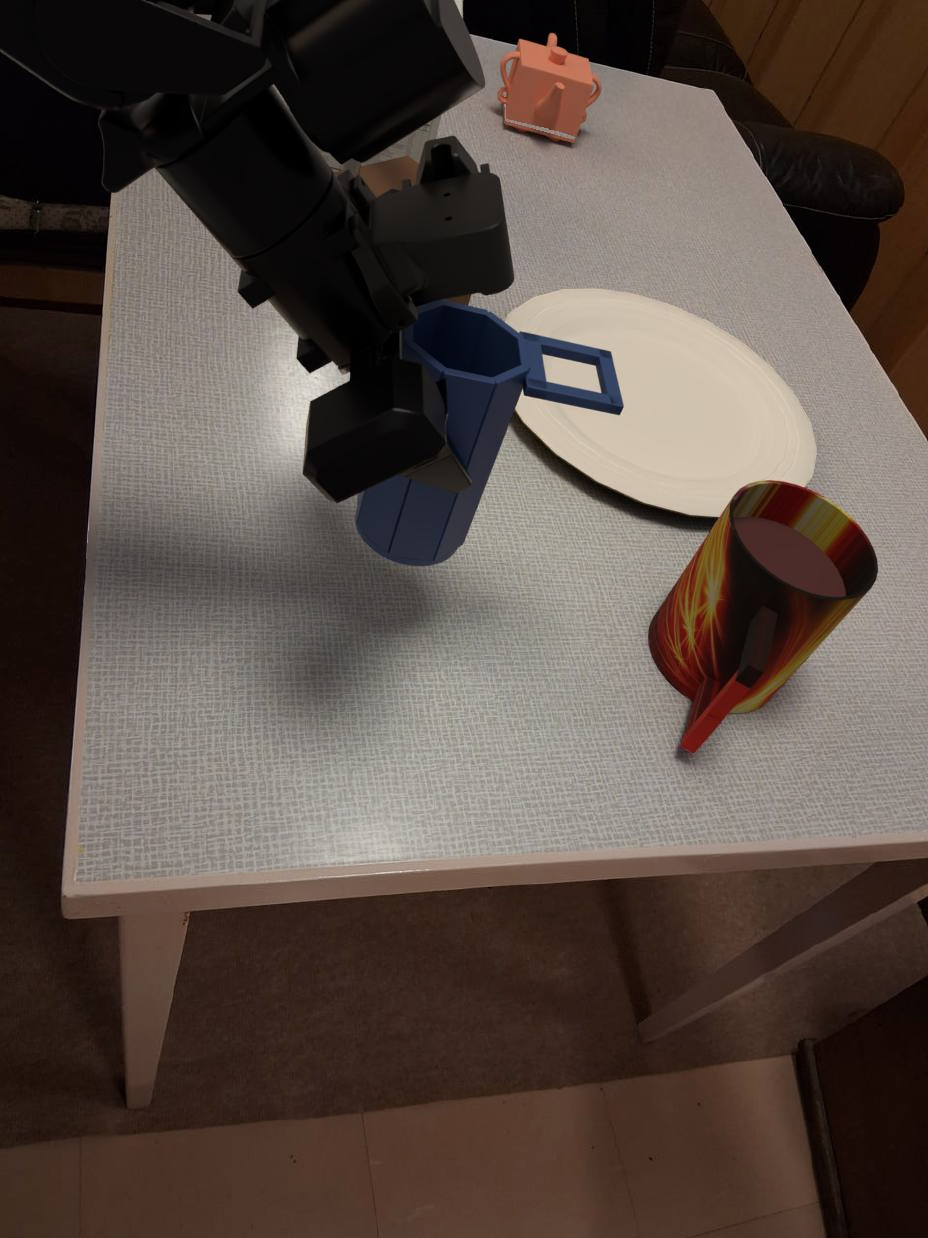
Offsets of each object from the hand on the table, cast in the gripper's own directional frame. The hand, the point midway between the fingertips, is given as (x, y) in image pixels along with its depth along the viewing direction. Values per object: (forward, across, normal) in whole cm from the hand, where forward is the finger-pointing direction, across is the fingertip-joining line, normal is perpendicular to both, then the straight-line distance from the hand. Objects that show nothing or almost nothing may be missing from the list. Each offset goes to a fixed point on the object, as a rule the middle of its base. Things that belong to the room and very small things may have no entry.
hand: (461, 444), depth 52 cm
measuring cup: (+5, 0, +4) cm, 7 cm away
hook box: (+8, +31, +12) cm, 34 cm away
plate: (+25, +25, -6) cm, 36 cm away
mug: (+25, -4, -6) cm, 26 cm away
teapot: (+21, +74, -2) cm, 77 cm away
